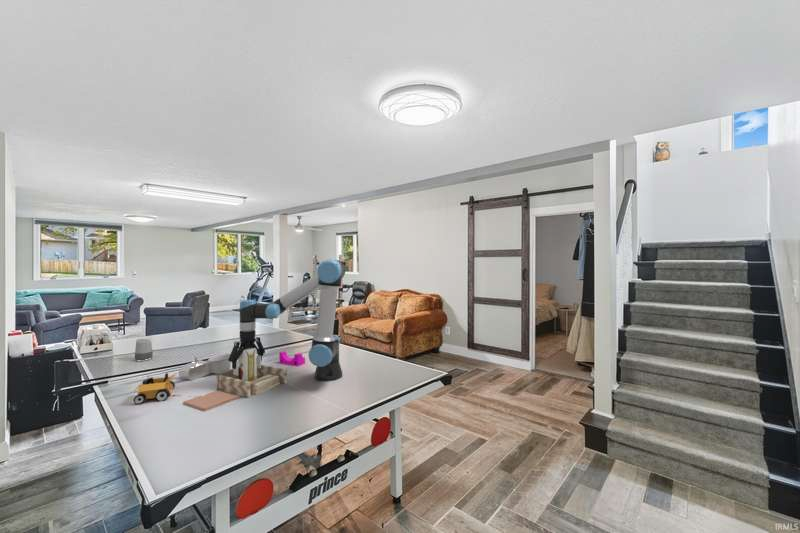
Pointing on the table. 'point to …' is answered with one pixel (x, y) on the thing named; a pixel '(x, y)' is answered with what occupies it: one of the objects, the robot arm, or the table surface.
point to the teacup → (220, 363)
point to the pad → (210, 400)
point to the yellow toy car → (155, 389)
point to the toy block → (291, 359)
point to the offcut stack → (263, 384)
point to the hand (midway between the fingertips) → (247, 371)
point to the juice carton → (247, 365)
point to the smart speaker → (143, 349)
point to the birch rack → (241, 387)
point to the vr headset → (195, 370)
